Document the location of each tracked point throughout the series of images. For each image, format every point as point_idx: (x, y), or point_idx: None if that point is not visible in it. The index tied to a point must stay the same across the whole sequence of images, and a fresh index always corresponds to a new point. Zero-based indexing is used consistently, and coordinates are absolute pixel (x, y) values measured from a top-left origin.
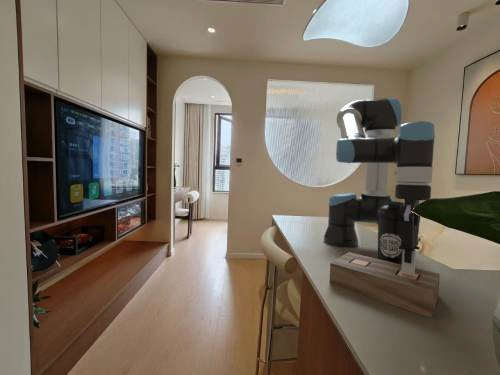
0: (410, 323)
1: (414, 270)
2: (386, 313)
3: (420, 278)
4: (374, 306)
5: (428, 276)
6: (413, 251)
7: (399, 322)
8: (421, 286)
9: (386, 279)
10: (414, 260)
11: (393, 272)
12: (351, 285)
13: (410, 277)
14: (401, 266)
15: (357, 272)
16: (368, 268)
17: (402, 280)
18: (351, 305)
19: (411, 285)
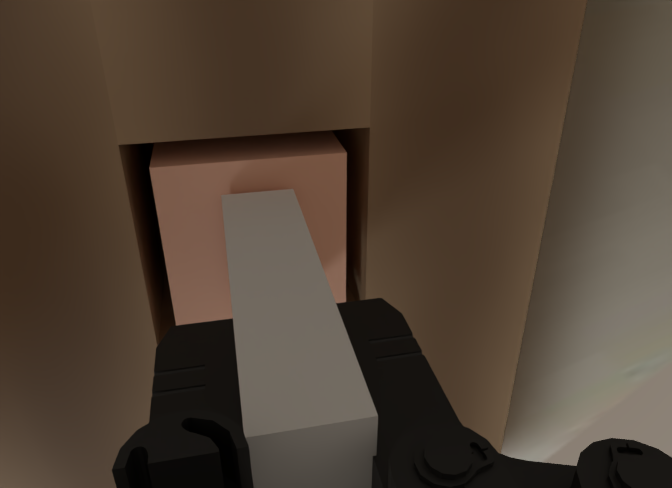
0: (622, 37)
1: (254, 219)
2: (581, 174)
3: (264, 120)
4: None
5: (91, 61)
6: (372, 428)
7: (644, 90)
8: (513, 62)
9: (524, 321)
10: (332, 298)
11: None
12: None
13: (328, 203)
14: (26, 366)
15: None
16: None
17: (472, 231)
18: (598, 322)
19: (548, 141)
